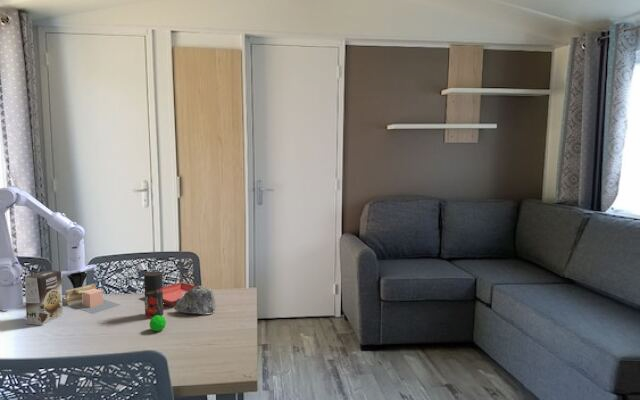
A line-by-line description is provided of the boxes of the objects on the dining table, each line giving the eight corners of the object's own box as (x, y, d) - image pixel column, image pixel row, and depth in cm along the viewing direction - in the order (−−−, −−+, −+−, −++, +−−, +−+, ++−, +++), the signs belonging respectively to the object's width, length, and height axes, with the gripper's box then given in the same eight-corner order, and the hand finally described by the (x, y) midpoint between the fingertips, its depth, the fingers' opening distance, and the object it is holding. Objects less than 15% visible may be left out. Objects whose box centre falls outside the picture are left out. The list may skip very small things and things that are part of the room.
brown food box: (42, 326, 143) (40, 278, 142) (26, 324, 145) (23, 276, 143) (64, 316, 152) (62, 270, 151) (48, 314, 154) (46, 269, 152)
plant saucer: (181, 289, 186) (181, 281, 185) (210, 297, 175) (210, 289, 175) (143, 300, 171) (142, 292, 171) (171, 310, 160) (171, 301, 160)
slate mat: (54, 301, 167) (54, 300, 167) (82, 293, 176) (82, 292, 176) (92, 314, 154) (92, 313, 154) (121, 305, 163) (121, 304, 163)
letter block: (81, 291, 162) (89, 294, 159) (94, 288, 166) (102, 290, 163) (82, 305, 162) (90, 307, 160) (95, 301, 167) (103, 303, 164)
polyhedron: (150, 334, 138) (150, 319, 138) (148, 328, 142) (148, 314, 142) (167, 331, 140) (166, 317, 140) (165, 326, 145) (164, 312, 144)
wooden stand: (63, 303, 163) (63, 290, 163) (92, 295, 173) (91, 283, 172) (72, 306, 160) (72, 293, 160) (101, 298, 170) (100, 285, 169)
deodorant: (166, 313, 156) (165, 272, 155) (155, 319, 151) (154, 276, 149) (153, 311, 158) (152, 270, 157) (141, 316, 153) (140, 274, 151)
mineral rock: (172, 313, 157) (171, 286, 156) (194, 304, 166) (194, 278, 165) (198, 320, 150) (198, 292, 149) (220, 311, 160) (220, 284, 159)
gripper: (62, 262, 158) (64, 299, 159) (100, 255, 170) (101, 288, 172) (52, 259, 162) (53, 295, 163) (90, 252, 174) (91, 285, 175)
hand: (77, 292), depth 168 cm, fingers closed, pressing on wooden stand
